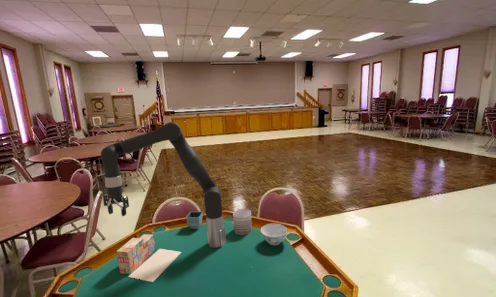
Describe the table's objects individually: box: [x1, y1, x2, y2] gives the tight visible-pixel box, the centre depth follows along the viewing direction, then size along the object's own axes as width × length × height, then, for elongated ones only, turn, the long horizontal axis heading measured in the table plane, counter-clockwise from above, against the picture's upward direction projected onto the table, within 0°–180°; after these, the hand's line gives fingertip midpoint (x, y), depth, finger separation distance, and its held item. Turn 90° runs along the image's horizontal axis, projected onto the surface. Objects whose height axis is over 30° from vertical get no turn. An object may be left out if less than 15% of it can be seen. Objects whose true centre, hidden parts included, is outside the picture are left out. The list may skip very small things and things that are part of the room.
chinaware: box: [260, 223, 288, 246], centre depth 145 cm, size 15×15×8 cm
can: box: [232, 208, 253, 236], centre depth 160 cm, size 11×11×12 cm
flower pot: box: [185, 211, 204, 230], centre depth 167 cm, size 9×9×9 cm
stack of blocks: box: [116, 233, 156, 275], centre depth 133 cm, size 21×6×12 cm, turn 168°
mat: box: [127, 248, 182, 283], centre depth 131 cm, size 14×24×1 cm, turn 162°
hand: (117, 214), depth 132 cm, fingers open, 8 cm apart
